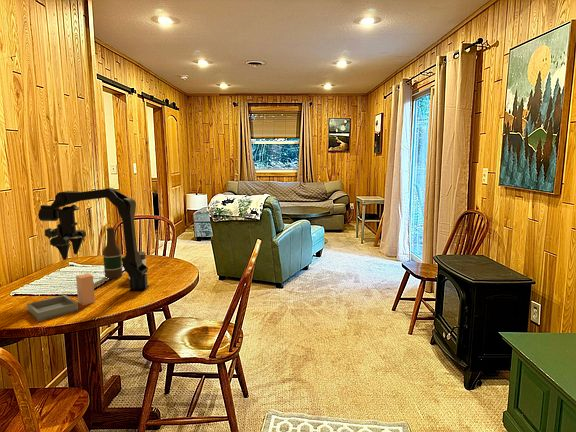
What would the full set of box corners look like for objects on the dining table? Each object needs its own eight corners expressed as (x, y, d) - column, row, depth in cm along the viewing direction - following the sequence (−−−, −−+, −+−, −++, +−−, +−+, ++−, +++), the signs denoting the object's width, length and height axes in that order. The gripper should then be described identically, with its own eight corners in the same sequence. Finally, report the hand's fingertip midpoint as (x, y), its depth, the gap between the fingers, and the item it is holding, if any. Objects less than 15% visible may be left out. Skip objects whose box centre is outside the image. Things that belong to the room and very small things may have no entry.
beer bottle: (126, 275, 193) (123, 226, 189) (114, 280, 185) (110, 229, 182) (113, 274, 195) (110, 226, 191) (101, 278, 188) (97, 228, 184)
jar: (141, 274, 195) (140, 250, 193) (151, 277, 189) (149, 253, 188) (124, 278, 188) (122, 253, 186) (133, 282, 183) (131, 256, 181)
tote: (65, 302, 158) (65, 294, 157) (78, 310, 149) (77, 303, 148) (27, 311, 148) (26, 303, 148) (38, 321, 139) (37, 313, 139)
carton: (90, 299, 160) (88, 273, 159) (94, 302, 157) (92, 275, 156) (78, 302, 157) (76, 275, 155) (82, 305, 154) (80, 278, 152)
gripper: (59, 217, 176) (62, 251, 179) (34, 224, 158) (38, 262, 160) (85, 217, 177) (87, 251, 179) (63, 224, 158) (66, 262, 161)
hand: (70, 256), depth 170 cm, fingers open, 9 cm apart
